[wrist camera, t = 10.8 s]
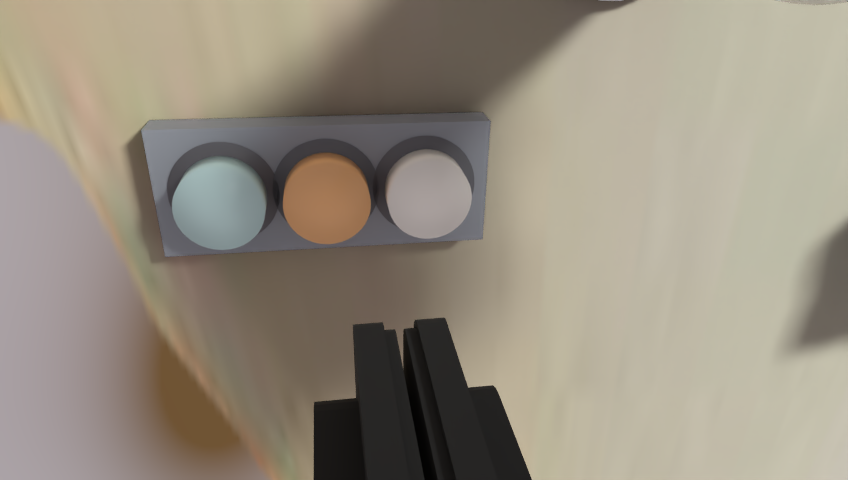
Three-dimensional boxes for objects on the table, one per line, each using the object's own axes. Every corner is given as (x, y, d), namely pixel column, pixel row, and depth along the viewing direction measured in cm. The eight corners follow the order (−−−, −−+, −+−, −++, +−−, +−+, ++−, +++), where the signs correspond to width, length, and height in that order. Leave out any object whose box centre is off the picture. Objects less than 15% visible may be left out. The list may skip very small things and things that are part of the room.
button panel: (482, 112, 40) (491, 121, 38) (475, 226, 43) (482, 240, 41) (149, 120, 37) (140, 130, 35) (171, 242, 40) (164, 257, 38)
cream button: (466, 147, 38) (474, 158, 36) (462, 222, 40) (469, 236, 38) (384, 150, 37) (387, 161, 35) (384, 226, 39) (388, 240, 38)
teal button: (263, 154, 36) (260, 166, 34) (271, 232, 38) (268, 247, 37) (172, 157, 35) (164, 170, 34) (185, 236, 38) (179, 252, 36)
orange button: (367, 151, 37) (369, 162, 35) (368, 227, 39) (371, 241, 37) (280, 153, 36) (279, 165, 34) (287, 231, 38) (286, 246, 37)
